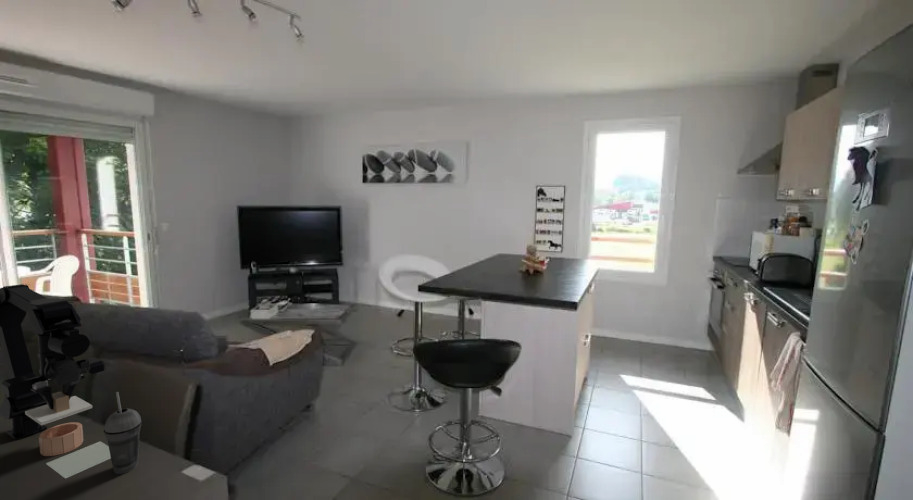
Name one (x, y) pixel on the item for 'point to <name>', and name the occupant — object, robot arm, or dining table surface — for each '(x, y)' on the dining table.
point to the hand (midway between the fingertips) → (59, 406)
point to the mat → (81, 459)
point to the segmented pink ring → (61, 439)
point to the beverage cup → (123, 438)
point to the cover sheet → (50, 414)
